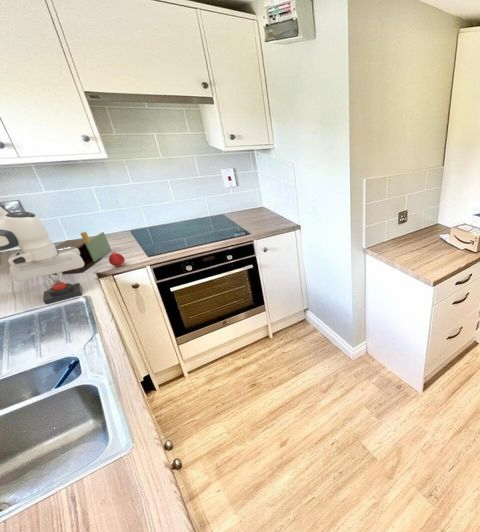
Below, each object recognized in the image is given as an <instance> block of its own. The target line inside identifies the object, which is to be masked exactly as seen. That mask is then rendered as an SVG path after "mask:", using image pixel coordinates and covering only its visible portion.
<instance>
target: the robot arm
mask: <svg viewBox="0 0 480 532" xmlns="http://www.w3.org/2000/svg"><path fill="white" fill-rule="evenodd" d="M14 248H20V250H19V251H17V252H15V253H12V254H11V255H9V257H8V259H7V262H8V263H9V265H10V267H9V271H10V274H11V277H12V278H13V280H14V281H15V282H24V281H28V280H33V279H38V278H41V277H44V279H45V280H47V281H49V282H51V284H52V285H54V284H56V283H61V282H63V278H62V277H63V274H62V272H64V271H68V270H73V269H77V268H81V267H83V266H84V261H83V259H82V258H81V256H80V251H79V249H78V248H75V247H67V248H61V249H56V245H55V243H54V242H53V240H52V239H51V238H50V237H49V233H48V230H47V229H46V226H45V225H44V223H43V222H42V220H41V219H40V217H38V216H37V215H36V214H35V213H33V212H30V211H12V212H11V211H10V210H8V209H7V208H5V207H4V205H1V204H0V252H3V251H6V250H10V249H14ZM73 248H74V249H73ZM55 273H57V275H56V276H58V277H55V278H53V277H51V275H54V274H55Z"/></svg>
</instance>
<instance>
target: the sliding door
mask: <svg viewBox="0 0 480 532" xmlns="http://www.w3.org/2000/svg"><path fill="white" fill-rule="evenodd" d="M80 236H81V239H83V240H84V242H85V245H86V247H87V249H88V252H89V254H90V256H91V258H92V260H93V262H95V261H97V260H98V259H99V258H103V257H104V256H105V255H107V254H108V253H109V252H111V251H112V248H111V245H110V244H109V241H108V239H107V236H106V234H105V231H101V232H100V233H99V234H97V235H95V236H93V237H92V238H90V237H89V234H88V233H87V231H82V232H80Z"/></svg>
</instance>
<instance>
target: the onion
mask: <svg viewBox="0 0 480 532" xmlns="http://www.w3.org/2000/svg"><path fill="white" fill-rule="evenodd" d="M125 259H126V258H125V257H124V255H122V254H120V253H117V252H116V251H113V252H112V253H111V254H110V255H109V256H108V262H109V264H110V265H112V266H114V267H122V266H123V264H124V263H125Z"/></svg>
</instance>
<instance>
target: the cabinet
mask: <svg viewBox="0 0 480 532" xmlns="http://www.w3.org/2000/svg"><path fill="white" fill-rule="evenodd" d="M55 247H56V249H61V248H67V247H75V248H78V249H79V251H80V256H81V258H82V259H83V261H84V266H83V267H81V268H77V269H73V270H68V271H64V272H62V275H71V274H83V273H84V272H86V271H87V270H89V269H90V268H91V267H93V266H95V265H96V264H97V263H98V262H99V261H101V260H102V259H103V257H101V258H99V259H98V260H97V261H95V262H93V260H92V258H91V256H90V254H89V252H88V249H87V247H86V245H85V242H84V240H83V238H81V239H67V240H64V241H63V242H61V243H59V244H57V245H55ZM73 249H74V248H73ZM53 275H54V276H58V275H57V273H55V274H53Z"/></svg>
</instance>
